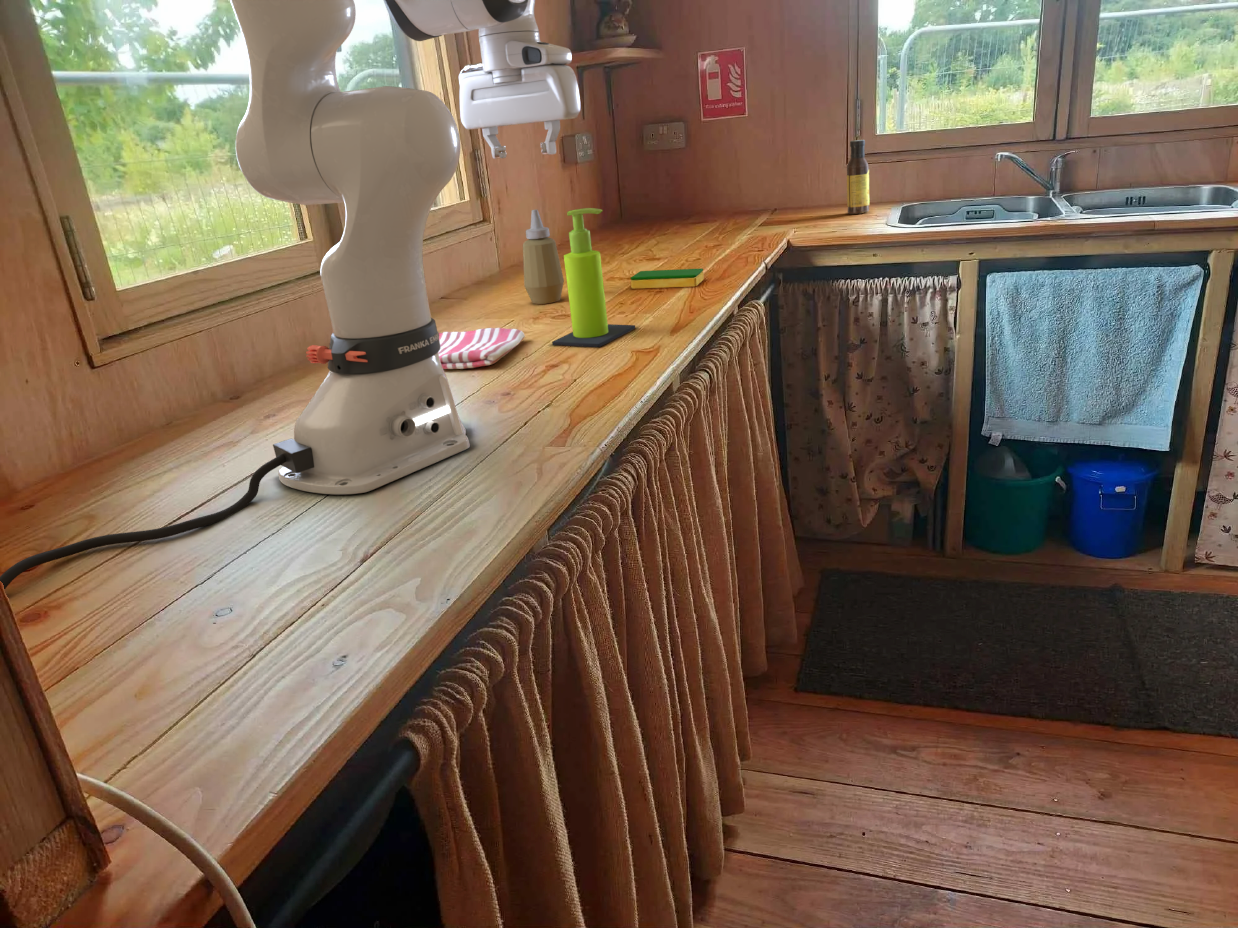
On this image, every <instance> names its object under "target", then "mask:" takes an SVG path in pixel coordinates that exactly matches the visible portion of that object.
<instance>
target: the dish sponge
mask: <svg viewBox="0 0 1238 928" xmlns="http://www.w3.org/2000/svg"><path fill="white" fill-rule="evenodd" d="M704 277H705V275H704V269H703V268H700V267H699V268H682V269H681V268H680V269H679V268H678V269H677V268H676V269H657V270H656V269H655V270H640V271H638V272H636V273H635V274H634V275H632V276H631V277H630V287H631V289H632V290H639V289H641V290H643V289H666V288H667V289H668V288H671V289H672V288H695V287H697V286H698V285H700V283H702V282H703V281H704V280H705V278H704Z"/></svg>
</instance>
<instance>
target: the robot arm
mask: <svg viewBox="0 0 1238 928" xmlns="http://www.w3.org/2000/svg"><path fill="white" fill-rule="evenodd" d="M229 1H230V4H231V6H232V10H233V12H234V16H235V18H236V21H237V23H238V26H239V29H240V32H241V35H242V38H243V39H242V40H243V42H244V46H245V51H246V55H247V56H246V57H247V61H248V62H247V63H248V71H249V98H248V103H247V108H246V111H245V114H244V116H243V117H242V120H241V121H240V123H239V125H238V127H237V131H236V135H235V156H236V160H237V163H238V166H239V169H240V171H241V173H242V175H243V176H244V178H245V179H246V181H247V183H248V184H249V186H251V188H252V189H253V190H254V191H256V193H258V194H260V195H261V196H262V197H265V198H267V199H270V200H275V201H280V202H284V203H290V204H296V205H301V206H312V205H328V204H341V203H342V204H343V203H344V207H345V223H344V228H343V232H342V236H341V238H340V241H339V242H337V243H336V244H335V245H333V246H332V247H331V248H330V249H329V250H328V251H327V252H326V254H325V255H324V256H323V258H322V259H321V260H322V261H321V264H320V267H319V272H320V273H319V275H320V280H321V285H322V288H323V292H324V297H325V298H324V299H325V302H326V307H327V311H328V315H329V320H330V324H331V329H332V333H331V335H330V339H329V347H328V346H326V345H316V344H312V345H309V346H308V347H307V349H306V350H308V351H306V352H305V354H306V356H305V357H306V358H307V361H309V362H310V363H311V364H322V365H325V364H327V369H328V373H327V375H326V376H325V378H324V379H323V381H322V383H321V384H320V385H319V387H318V388H317V390H316V391H315V393H314V394H313V396H312V398H311V399H310V400H309V402H308V403H307V405H306V406H305V408H304V409H303V410H302V412H301V413H300V414H299V416H298V417H297V418H296V420H295V423H294V425H293V426H294V427H293V438H288V439H285V440H282V441H279V442H277V443H273V444H272V447H273V451H274V454H275V457H273V458H272V459H271V460H268V461H267V462H265V463H264V464H262V465H261V466H259V468H257V469H256V471H254V473H252V476H251V477H250V479H249V483H248V490H247V491H246V493H244V495H243V496H242V497H241V498H240V499H238V500H237V501H236V502H235V503H234V504H231V505H230V506H228V507H226V508H225V509H222V510H220V511H217V512H214V513H210V514H207V515H203V516H200V517H196V518H191V519H189V520H184V521H182V522H178V523H174V524H171V525H168V526H167V525H166V526H164V527H159V528H153V529H146V530H138V531H137V530H136V531H128V532H120V533H111V534H104V535H99V536H95V537H91V538H86V539H84V540H80V541H77V542H73V543H71V544H67V545H65V546H61V547H57V548H54V549H50V550H47V551H42V552H39V553H36V554H34V555H31V556H28V557H26V558H23V559H22V560H19V561H18V562H16V563H15V564H13V565H12V566H10V567H9V568H8V569H7V570H6V571H4V572H3V573H2V574H1V575H0V581H1V582H2V583H3V585H4V589H5V590H6V588H7V587H8V586H9V585H10V584H12V582H13V581H14V580H15V579H16V578H17V577H18V576H20V575H21V574H23V573H24V572H26V571H28V570H30V569H32V568H35V567H37V566H40V565H43V564H46V563H50V562H53V561H57V560H60V559H63V558H67V557H70V556H73V555H76V554H80V553H82V552H85V551H89V550H93V549H96V548H100V547H101V548H102V547H105V546H110V545H111V546H112V545H119V544H126V543H127V544H128V543H137V542H138V543H139V542H145V541H146V542H147V541H153V540H159V539H164V538H169V537H173V536H176V535H180V534H183V533H187V532H190V531H193V530H196V529H200V528H203V527H207V526H211V525H213V524H216V523H218V522H220V521H223V520H224V519H226V518H228V517H230V516H232V515H234V514H235V513H237V512H239V511H241V510H243V509H244V508H246V507H247V506H248V505H249V504H251V502H253V500H254V499H255V498H256V497H257V495H258V493H259V490H260V489H259V488H260V484H261V481H262V480H263V478H264V477H265V476H266V475H267V474H269V473H270V472H272V471H273V470H275V469H277V468H278V467H280V466H281V468H279V470H278V480H279V481H280V482H281V484H282V485H284V486H287V487H289V488H292V489H295V490H298V491H303V492H308V493H314V494H323V495H356V494H363V493H367V492H370V491H373V490H375V489H378V488H380V487H383V486H385V485H387V484H390V483H392V482H394V481H397V480H399V479H401V478H403V477H406V476H408V475H410V474H412V473H414V472H417V471H420V470H422V469H424V468H427V467H428V466H431V465H434V464H435V463H438V462H440V461H442V460H445V459H447V458H450V457H451V456H454V455H457V454H459V453H461V452H463V451H466V450H468V449H469V448H470V447H471V444H470V440H469V437H468V436H467V435H466V434H467V430H466V428H465V426H464V424H463V422H462V420H461V417H460V415H459V412H458V410H457V407H456V404H455V403H456V402H455V399H454V397H453V393H452V389H451V387H450V383H449V380H448V377H447V375H446V372H445V369H443V368H442V365H441V361H440V358H439V354H438V352H439V350H440V349H441V346H440V341H439V333H440V332H439V331H438V327H437V322H436V319H434V318H433V317H432V315H431V310H430V304H429V303H430V302H429V296H428V289H427V284H426V283H427V282H426V276H425V275H426V274H425V269H424V268H425V267H424V255H423V253H424V252H423V247H424V236H425V230H426V226H427V223H428V222H427V221H428V218H429V215H430V212H431V209H432V208H433V205H434V203H435V201H436V199H437V198H438V196H439V195H440V193H441V192H442V191H443V190H444V189H445V187H447V185H448V184H449V183H450V182H451V180H452V179H453V178H454V175H455V173H456V171H457V168H458V166H459V162H460V156H461V136H460V132H459V129H458V125H457V123H456V120H455V118H454V116H453V114H452V113H451V111H450V109H449V108H448V106H447V104H445V103H444V101H443V100H441V98H440V97H439V96H438V95H436V94H435V93H433V92H431V91H428V90H423V89H417V88H416V89H415V88H411V87H400V86H390V85H383V86H376V87H367V88H361V89H353V90H345V91H342V90H341V89H340V86H339V83H338V79H337V73H336V56H337V53H338V49H339V48H340V47H341V46H342V45H343V44H344V43H345V42H346V40H347V39H348V38H349V36H350V35H351V33H352V31H353V29H354V26H355V24H356V23H355V22H356V5H355V0H229ZM383 3H384V5H385V8H386V11H387V13H388V15H389V18H390V19H391V21H392V22H393V24H394V25H395V26H396V28H397V29H398V30H399V31H400V32H402V33H403V34H404V35H405V36H407V37H408V38H410V39H411V40H413V41H416V42H424V41H428V40H433V39H436V38H439V37H443V36H444V35H452V34H460V33H465V32H472V31H476V30H478V41H479V49H480V50H479V51H480V57H481V61H480V62H476V63H468V64H465V65H464V66H463V68H462V69H461V70H460V71H459V74H458V84H459V114H460V122H461V124H462V126H463V127H464V128H465V130H477V129H478V130H479V129H481V130H482V136H483V138H484V140H485V141H486V143H487V144H488V146H489V147H490V150H491V157H492V159H493V160H498V159H506V158H507V152H506V151H507V149H506V145H502V144H501V142H500V140H499V138H498V137H497V135H499V129H498V128H499V127H507V126H515V125H526V124H533V123H544V125H543V126H544V130H548V131H547V133H546V136H545V141H543V142H540V148H541V154H542V155H543V156H547V155H548V156H549V155H556V154H557V145H556V141H557V139H558V137H559V134H560V132H561V121H565V120H571V119H572V120H573V119H577V118H578V116H579V114H580V112H581V99H580V98H581V97H580V91H579V85H578V80H577V75H576V73H575V71H574V69H573V68H572V67H571V66H570V65H569V64H571V63H572V58H573V57H572V51H571V49H569V48H568V47H565V46H562V45H556V44H553V43H549V42H545V41H542V40H541V37H540V30H539V27H538V23H537V20H536V18H535V16H536V15H535V5H536V0H383Z"/></svg>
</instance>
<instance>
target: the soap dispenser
mask: <svg viewBox="0 0 1238 928" xmlns="http://www.w3.org/2000/svg"><path fill="white" fill-rule="evenodd" d="M603 211H604V210H603V209H601V208H594V207H584V208H576V209H572V210H568V211H567V212H566V215H567V217H570V216H571V218H572V227H573V229H571V231H569V232H568V237H569V246H570V252H569V253H566V254H564V255H563V261H564V271H565V278H566V287H567V295H568V305H569V311H570V321H571V327H572V332H573V336H574V337H577V338H592V337H598V336H602V335H605V334H607V333H608V324H609V323H608V314H607V303H606V295H605V286H604V285H605V284H604V277H603V268H602V257H601V251H599V250H594V249H593V247H592V237H591V231H590V229H587V228H586V227H585V223H584V222H585V221H584V215H585V214H592V215H593V214H594V215H599V214H601V213H602V212H603Z"/></svg>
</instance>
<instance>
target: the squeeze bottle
mask: <svg viewBox="0 0 1238 928" xmlns="http://www.w3.org/2000/svg"><path fill="white" fill-rule="evenodd" d="M550 236H551V234H550V228H549V227H547V226H544V224H543V221H542V218H541V215H540V212H539V209H531V215H530V228H528V229H526V230H525V237H526V239H527V240H525V241H524V242H523V244H522V255H523V256H522V261H523V285H524V288H525V290H526V293H527V295H528V297H529V299H530V301H531V303H532V304H536V305H537V304H538V305H546V304H552V303H555V302H558V301H560V300H561V299H562V293H563V288H564V287H563V286H564V284H565V278H564V275H563V269H562V266H561V261H560V256H559V252H558V247H557V243H556V240H555V239H554V238H551V237H550Z"/></svg>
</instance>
